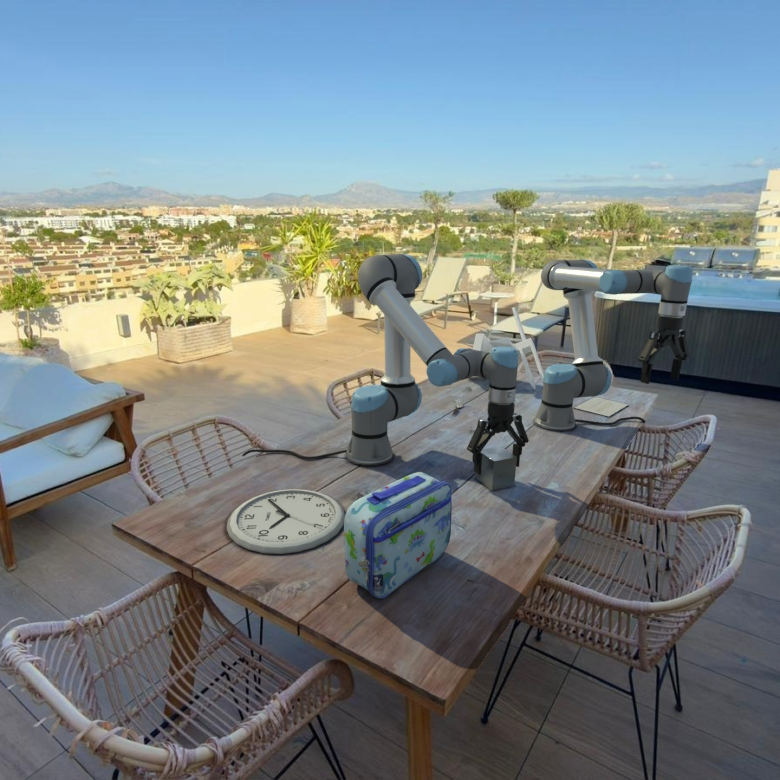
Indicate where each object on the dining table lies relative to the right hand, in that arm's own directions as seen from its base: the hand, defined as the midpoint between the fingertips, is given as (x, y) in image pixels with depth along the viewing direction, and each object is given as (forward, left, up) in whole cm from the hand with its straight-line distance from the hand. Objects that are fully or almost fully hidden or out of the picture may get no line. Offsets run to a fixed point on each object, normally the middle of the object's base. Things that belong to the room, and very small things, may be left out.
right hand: (659, 380), depth 171 cm
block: (+53, +28, -26) cm, 66 cm away
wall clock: (+108, +58, -26) cm, 126 cm away
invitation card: (+2, -50, -26) cm, 57 cm away
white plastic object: (+43, -78, -26) cm, 93 cm away
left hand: (+53, +29, -22) cm, 64 cm away
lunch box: (+77, +75, -26) cm, 111 cm away
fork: (+64, -35, -26) cm, 78 cm away
